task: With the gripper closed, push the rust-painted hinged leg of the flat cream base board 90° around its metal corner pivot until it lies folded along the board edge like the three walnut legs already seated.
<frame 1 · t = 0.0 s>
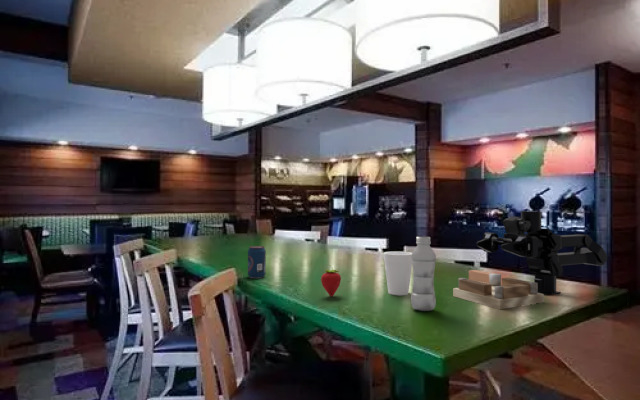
hand: (488, 245, 127), 17 cm above the table, tool horizontal, fingers open, 9 cm apart
hinged leg: (485, 277, 141), point 4 cm above the table, hinge at 0.0°
soda can: (256, 277, 166), on the table
flat cream base board: (496, 299, 128), on the table
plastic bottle: (423, 311, 115), on the table
strawberry: (331, 297, 132), on the table
foam cup: (398, 293, 137), on the table
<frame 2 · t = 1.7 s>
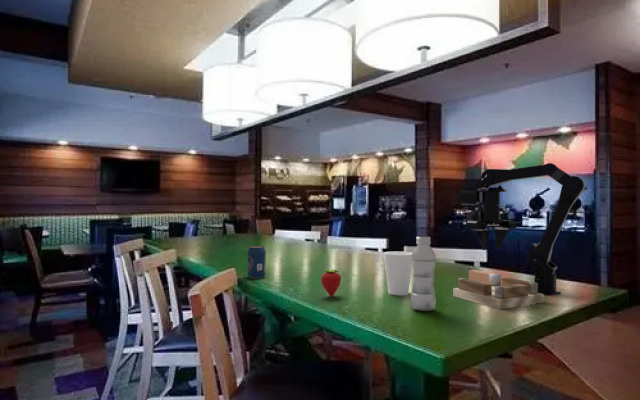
hand: (491, 249, 148), 13 cm above the table, tool pointing down, fingers open, 6 cm apart
nothing on the table moved.
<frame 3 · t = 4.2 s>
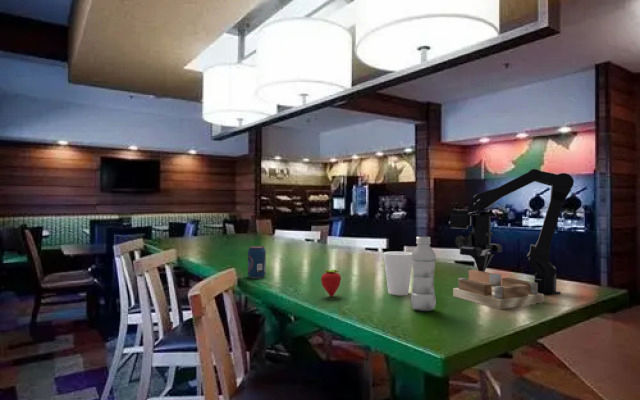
hand: (481, 274, 146), 5 cm above the table, tool pointing down, fingers closed
hinged leg: (485, 277, 141), point 4 cm above the table, hinge at 0.0°, touching gripper
everything else where it was.
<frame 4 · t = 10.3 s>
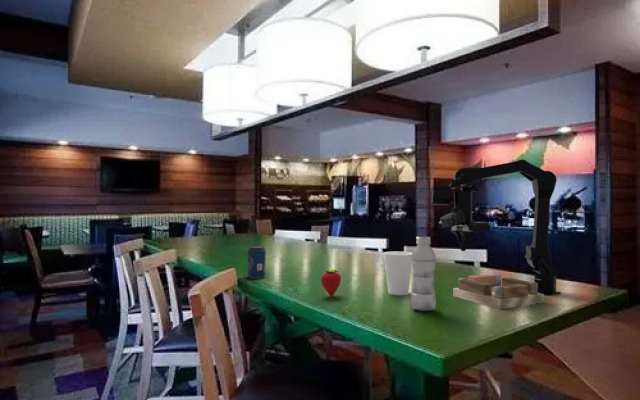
hand: (463, 250, 144), 13 cm above the table, tool pointing down, fingers closed
hinged leg: (485, 280, 136), point 4 cm above the table, hinge at 87.2°
everything else where it was.
at the end: hinged leg at +87° (first picture: +0°); foam cup moved 0.2 cm from its start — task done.
